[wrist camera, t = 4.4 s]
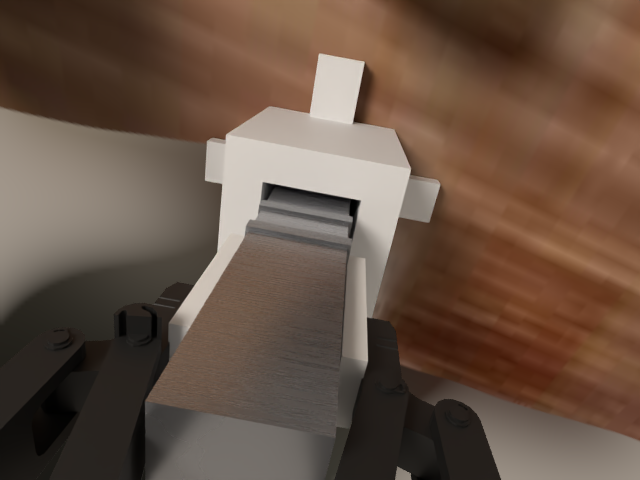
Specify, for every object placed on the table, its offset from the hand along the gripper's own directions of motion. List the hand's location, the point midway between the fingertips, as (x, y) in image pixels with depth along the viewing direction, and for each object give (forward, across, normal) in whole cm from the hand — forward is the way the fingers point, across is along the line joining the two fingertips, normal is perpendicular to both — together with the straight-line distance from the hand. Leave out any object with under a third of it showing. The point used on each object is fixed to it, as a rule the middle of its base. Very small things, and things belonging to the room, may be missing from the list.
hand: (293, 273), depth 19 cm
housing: (+15, 0, 0) cm, 15 cm away
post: (+15, 0, 0) cm, 15 cm away
